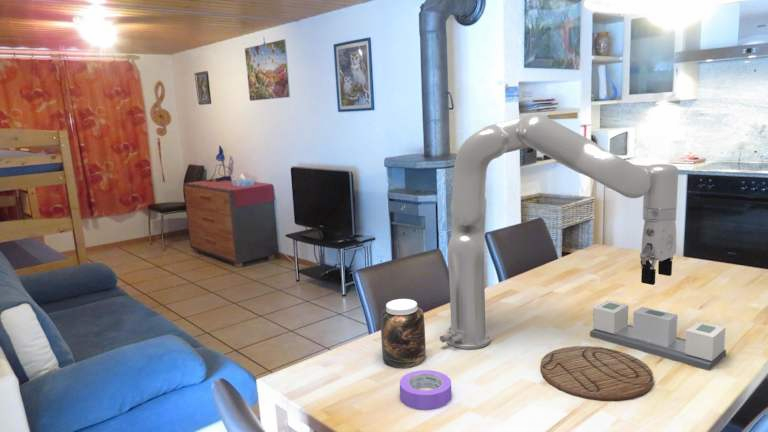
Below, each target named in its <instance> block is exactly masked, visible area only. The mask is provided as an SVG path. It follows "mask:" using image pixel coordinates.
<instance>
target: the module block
mask: <svg viewBox="0 0 768 432" xmlns="http://www.w3.org/2000/svg"><path fill="white" fill-rule="evenodd" d="M632 315H633V316H632V317H633V318H632V326H633V337H635V338H639V339H643V340H646V341H650V342H654V343H657V344H661V345H665V346H669V345H671V344H672V343H673V342H675V341H676V337H677V332H678V331H677V330H678V314H675V313H670V312H667V311H662V310H657V309H653V308H649V307H644V306H641V307H639V308H638V309H636V310H635V311H633V314H632Z"/></svg>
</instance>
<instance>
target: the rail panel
mask: <svg viewBox="0 0 768 432" xmlns="http://www.w3.org/2000/svg"><path fill="white" fill-rule="evenodd" d="M589 332H590V333H589V337H591V338H595V339H598V340H602V341H604V342H605V341H606V342H608V343H613V344H615V345H619V346H623V347H626V348H629V349H633V350H636V351H640V352H643V353H647V354H650V355H653V356H656V357H660V358H664V359H668V360H671V361H674V362H677V363H682V364H684V365H688V366H691V367H695V368H698V369H703V370H706V371H711V370H712V369H713V368H714V366H716V365H717V364H718V363H719V362H721V360H722V359H724V358H725V357H726V355H727V350H726V349H724V351H723V352H722V353H721V354H719V355H718V356H717V357H716V358H715V359H714V360H713V361H710V360H706V359H703V358H699V357H695V356H692V355H688V354H685V343H686V338H681V337H677V336H676V341H675V342H673V343H672V344H671V345H669V346H665V345H661V344H657V343H654V342H650V341H646V340H643V339H639V338H635V337H633V325H629V324H628V326H626V327H625V328H623V329H621V330H620V331H618V332H616V333H615V334H612V333H608V332H605V331H601V330H597V329H594V328H592V330H590V331H589Z"/></svg>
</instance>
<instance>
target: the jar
mask: <svg viewBox="0 0 768 432" xmlns="http://www.w3.org/2000/svg"><path fill="white" fill-rule="evenodd" d="M385 304H386V305H385V309H383V310H382V311H381V313H380V335H381V336H380V337H381V339H380V340H381V356H382V361H383V363H384V364H385V365H386V366H388V367H391V368H396V369H397V368H398V369H409V368H413V367H417V366H419V365H421V364H423V363H424V362H425V361H426V357H427V351H426V349H427V348H426V328H425V313H424V311H423V309H422V308H420V307H419V306H418V303H417V301H415V300H414V299H410V298H398V299H392V300H390V301H388V302H386V303H385Z"/></svg>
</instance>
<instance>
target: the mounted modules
mask: <svg viewBox="0 0 768 432" xmlns="http://www.w3.org/2000/svg"><path fill="white" fill-rule="evenodd" d="M592 309H593V310H592V312H593V313H592V316H593V317H592V329H597V330H601V331H605V332H608V333H612V334H615V333H616V332H618V331H620V330H621V329H623V328H625V327H626V326H628V325H629V304H625V303H621V302H617V301H612V300H606V301H603V302H601V303H600V304H598V305H596V306H594V307H593V308H592ZM685 340H686V343H685V354H688V355H692V356H695V357H699V358H703V359H706V360H710V361H713V360H714V359H715V358H716V357H717V356H718V355H719V354H721V353H722V352H723V351H724V350H725V343H726V341H725V340H726V326H721V325H716V324H712V323H708V322H703V321H697V322H696V323H695V324H693V325H692V326H691V327H689V328H688V329H686V330H685Z"/></svg>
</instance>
